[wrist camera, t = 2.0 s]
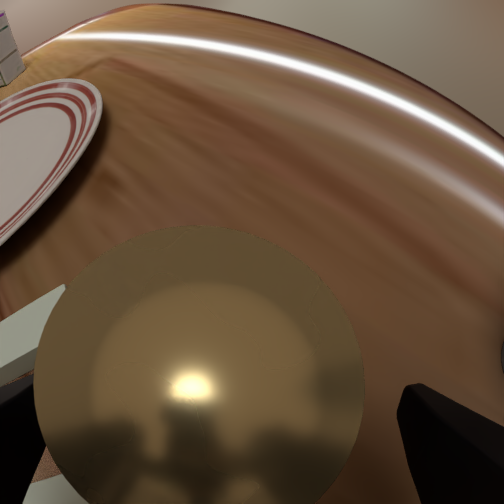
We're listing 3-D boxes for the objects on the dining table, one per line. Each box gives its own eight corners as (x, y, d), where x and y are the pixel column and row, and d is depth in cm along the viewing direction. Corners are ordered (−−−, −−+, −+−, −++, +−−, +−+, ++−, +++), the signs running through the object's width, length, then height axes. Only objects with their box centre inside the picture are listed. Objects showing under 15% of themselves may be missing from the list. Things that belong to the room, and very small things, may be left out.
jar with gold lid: (301, 427, 13) (427, 419, 3) (221, 473, 12) (126, 580, 2) (252, 355, 15) (243, 183, 5) (175, 398, 14) (8, 307, 4)
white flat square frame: (170, 492, 12) (158, 500, 10) (17, 533, 8) (-3, 537, 7) (79, 298, 17) (63, 283, 15) (-39, 368, 14) (-58, 360, 12)
